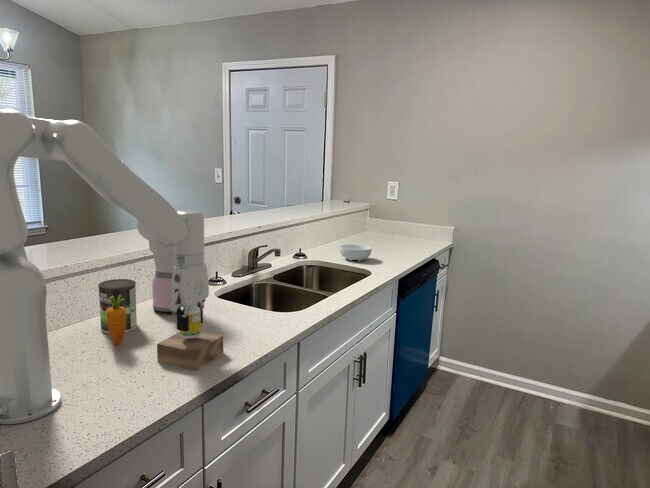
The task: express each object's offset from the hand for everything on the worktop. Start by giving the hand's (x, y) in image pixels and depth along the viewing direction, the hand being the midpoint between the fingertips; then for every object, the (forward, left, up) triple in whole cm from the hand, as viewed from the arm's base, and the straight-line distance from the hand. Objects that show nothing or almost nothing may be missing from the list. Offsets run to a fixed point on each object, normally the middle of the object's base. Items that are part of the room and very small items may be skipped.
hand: (190, 325), depth 119 cm
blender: (+29, +30, -9) cm, 43 cm away
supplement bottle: (0, 0, -3) cm, 3 cm away
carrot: (-3, +22, -9) cm, 24 cm away
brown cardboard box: (0, 0, -9) cm, 9 cm away
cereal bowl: (+135, -6, -9) cm, 136 cm away
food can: (+8, +32, -9) cm, 34 cm away
